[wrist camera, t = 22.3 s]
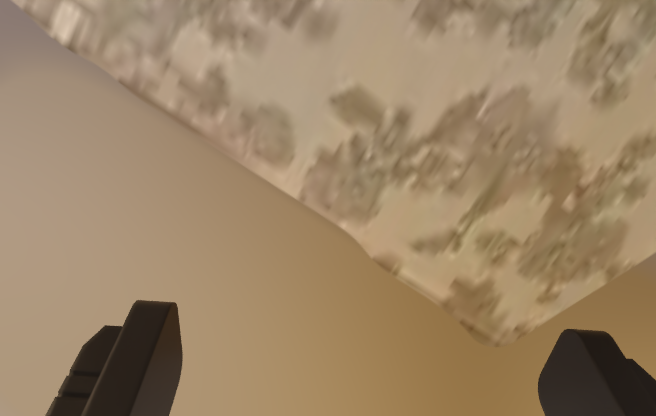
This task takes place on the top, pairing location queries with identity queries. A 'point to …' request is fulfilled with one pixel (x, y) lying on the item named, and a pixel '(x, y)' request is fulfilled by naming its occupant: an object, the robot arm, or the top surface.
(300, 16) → the top surface
